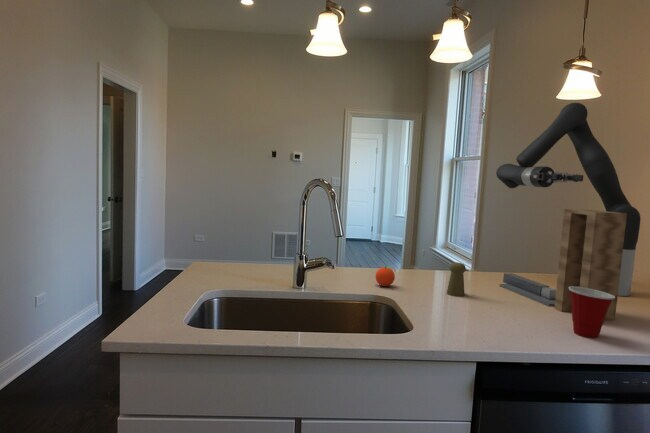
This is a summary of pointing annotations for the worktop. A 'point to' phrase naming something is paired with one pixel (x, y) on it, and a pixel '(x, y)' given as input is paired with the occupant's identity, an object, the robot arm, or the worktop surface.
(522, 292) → the rubber mat
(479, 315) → the worktop surface
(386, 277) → the clementine
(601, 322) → the plastic cup
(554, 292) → the grey bar
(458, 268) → the cork
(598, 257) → the walnut shelf
